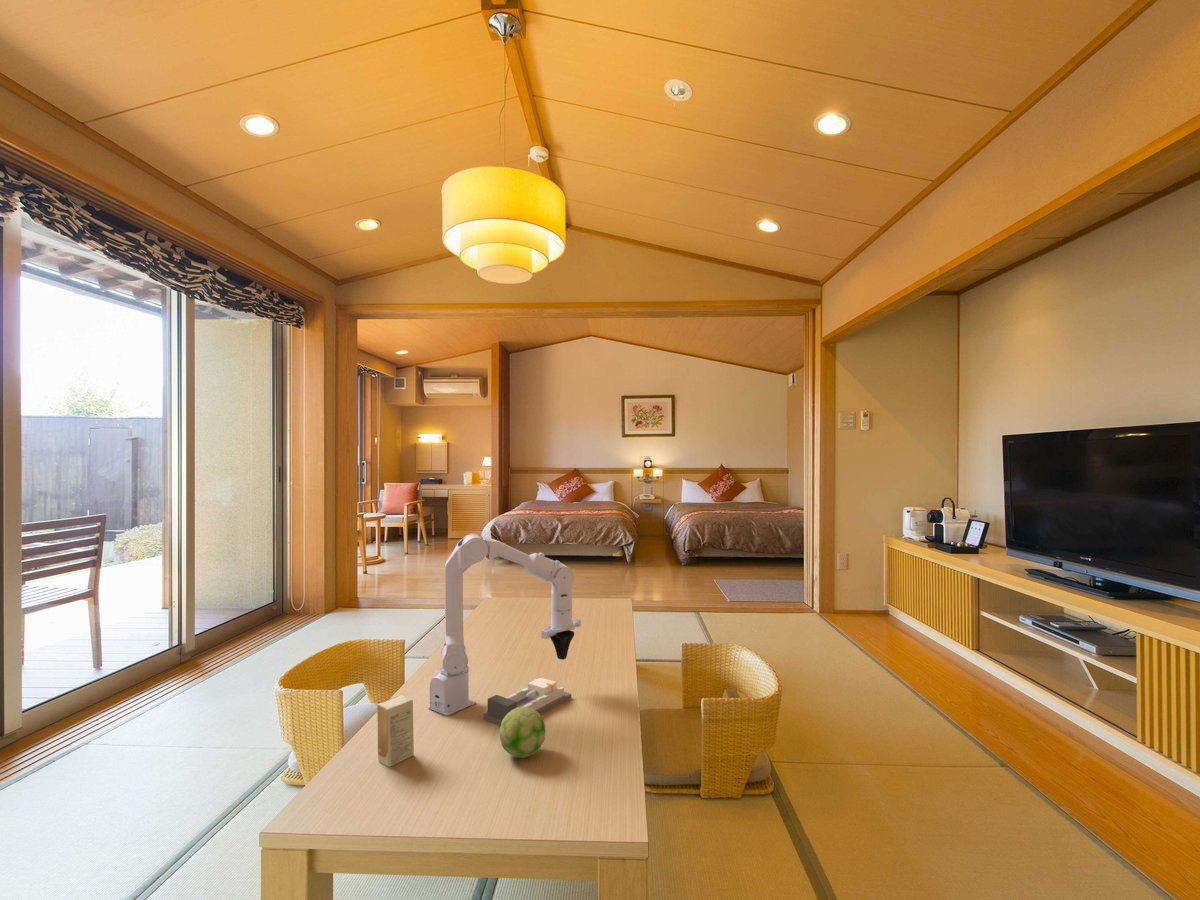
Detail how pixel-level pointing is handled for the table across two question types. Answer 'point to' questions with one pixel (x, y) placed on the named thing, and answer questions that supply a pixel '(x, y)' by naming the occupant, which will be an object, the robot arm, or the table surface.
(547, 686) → the gauge carriage
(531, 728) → the decorative ball
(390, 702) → the skincare box
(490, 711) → the gauge base
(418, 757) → the table surface
